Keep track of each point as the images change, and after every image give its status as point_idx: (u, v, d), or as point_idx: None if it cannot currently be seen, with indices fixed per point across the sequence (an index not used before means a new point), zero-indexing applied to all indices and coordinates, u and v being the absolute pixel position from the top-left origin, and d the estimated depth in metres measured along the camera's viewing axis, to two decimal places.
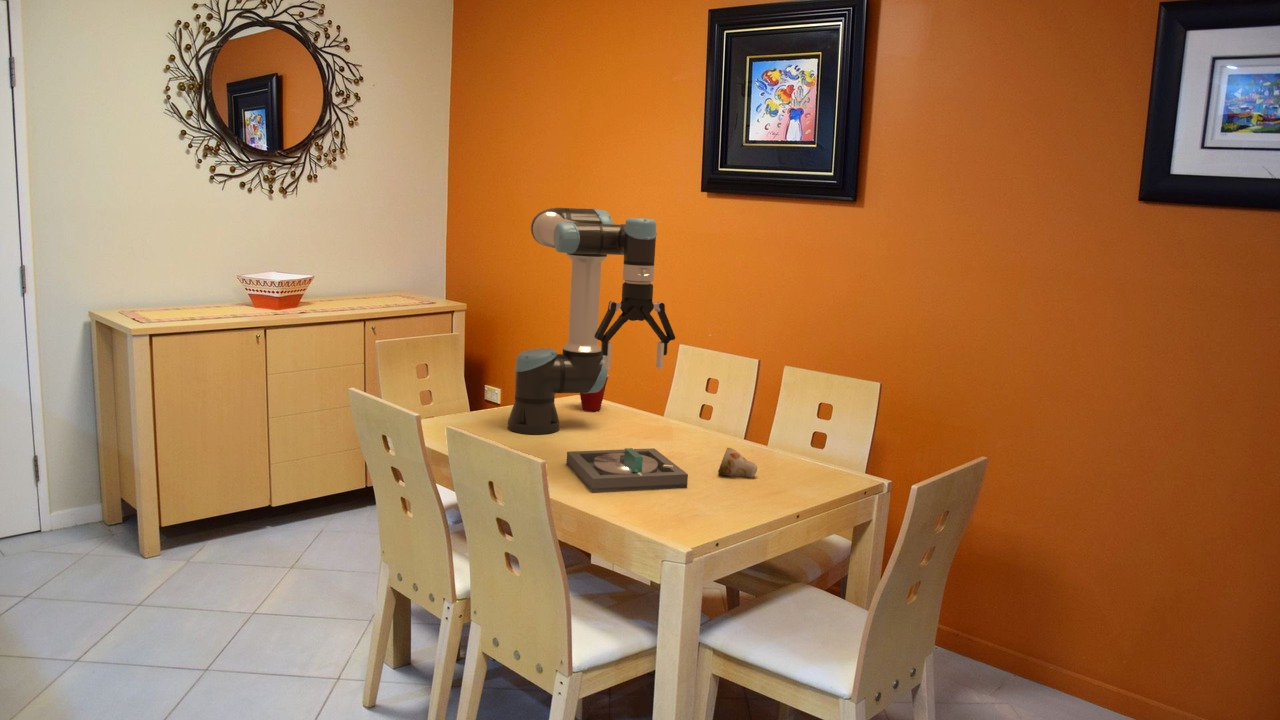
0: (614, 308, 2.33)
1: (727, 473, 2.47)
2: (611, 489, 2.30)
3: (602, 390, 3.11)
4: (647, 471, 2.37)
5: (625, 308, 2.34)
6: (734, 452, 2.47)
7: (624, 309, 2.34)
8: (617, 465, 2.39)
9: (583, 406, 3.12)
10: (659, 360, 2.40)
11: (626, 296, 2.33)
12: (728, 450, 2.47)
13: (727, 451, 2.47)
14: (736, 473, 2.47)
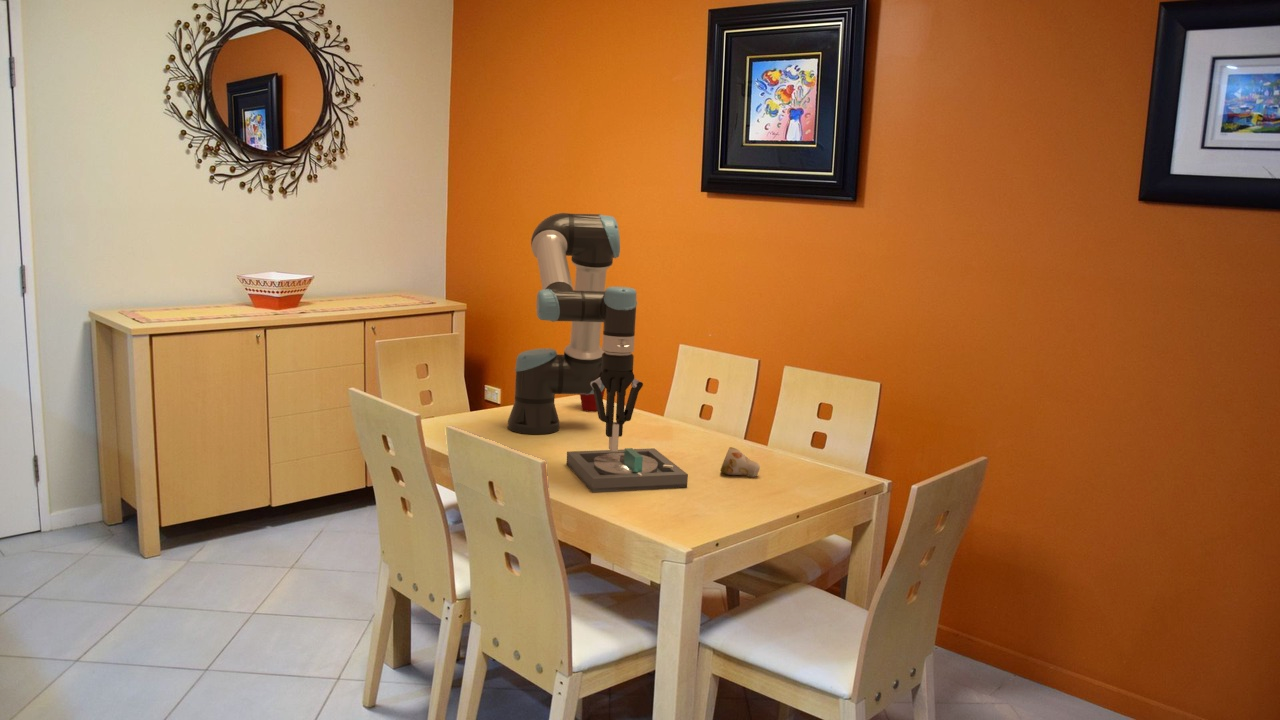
0: (597, 387, 2.27)
1: (729, 472, 2.48)
2: (611, 489, 2.30)
3: (602, 390, 3.11)
4: (647, 471, 2.37)
5: (604, 379, 2.28)
6: (736, 451, 2.48)
7: (603, 380, 2.28)
8: (617, 465, 2.39)
9: (583, 406, 3.12)
10: None
11: (605, 367, 2.27)
12: (730, 449, 2.48)
13: (729, 451, 2.47)
14: (738, 472, 2.48)
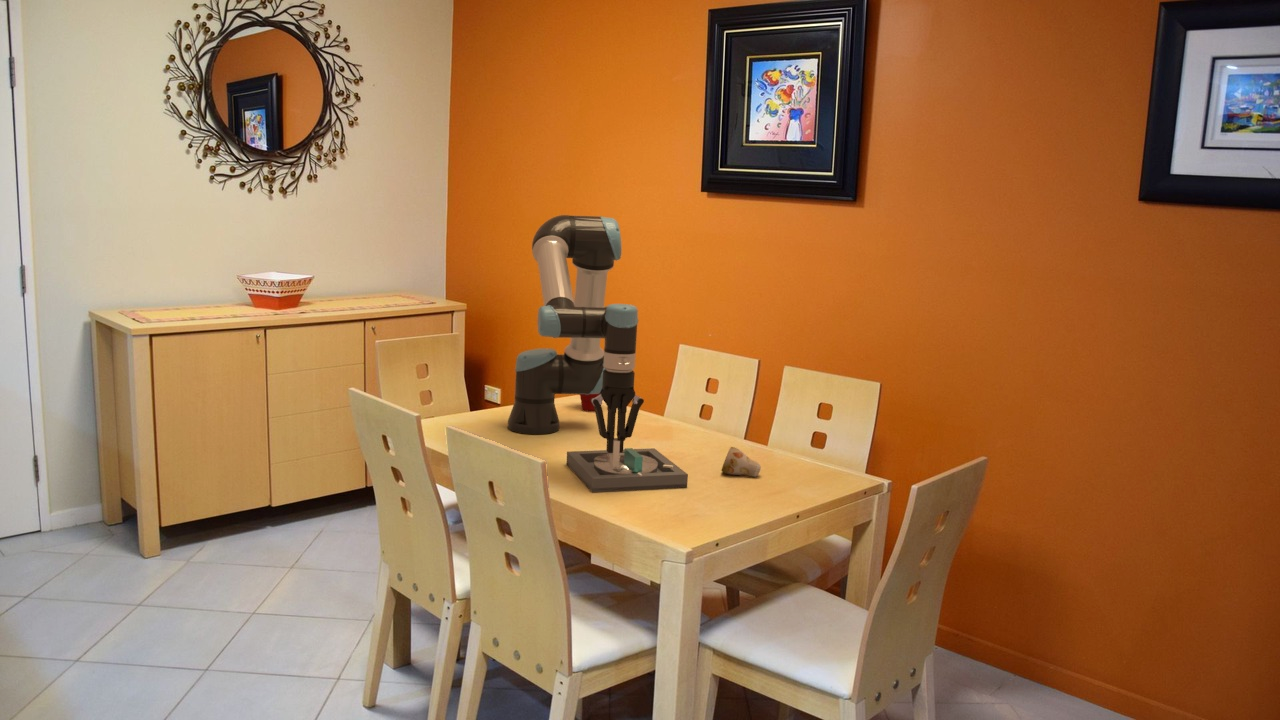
0: (598, 404, 2.28)
1: (730, 472, 2.48)
2: (611, 489, 2.30)
3: None
4: (647, 471, 2.37)
5: (605, 396, 2.29)
6: (737, 451, 2.48)
7: (604, 397, 2.29)
8: None
9: (583, 406, 3.12)
10: None
11: (606, 384, 2.28)
12: (731, 449, 2.48)
13: (730, 451, 2.48)
14: (739, 472, 2.48)
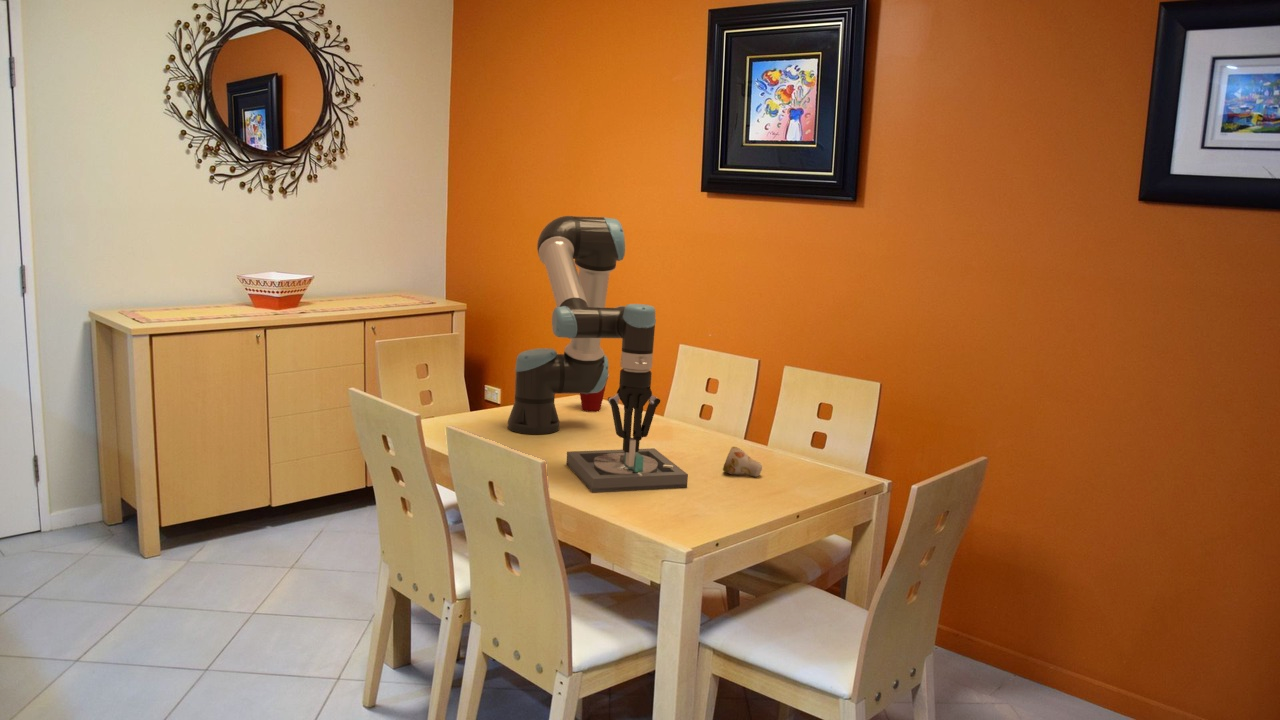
0: (615, 404, 2.30)
1: (731, 472, 2.48)
2: (611, 489, 2.30)
3: (602, 390, 3.11)
4: (647, 471, 2.37)
5: (622, 396, 2.30)
6: (739, 451, 2.48)
7: (621, 397, 2.30)
8: (617, 465, 2.39)
9: (583, 406, 3.12)
10: None
11: (624, 384, 2.29)
12: (733, 449, 2.49)
13: (731, 450, 2.48)
14: (740, 472, 2.48)
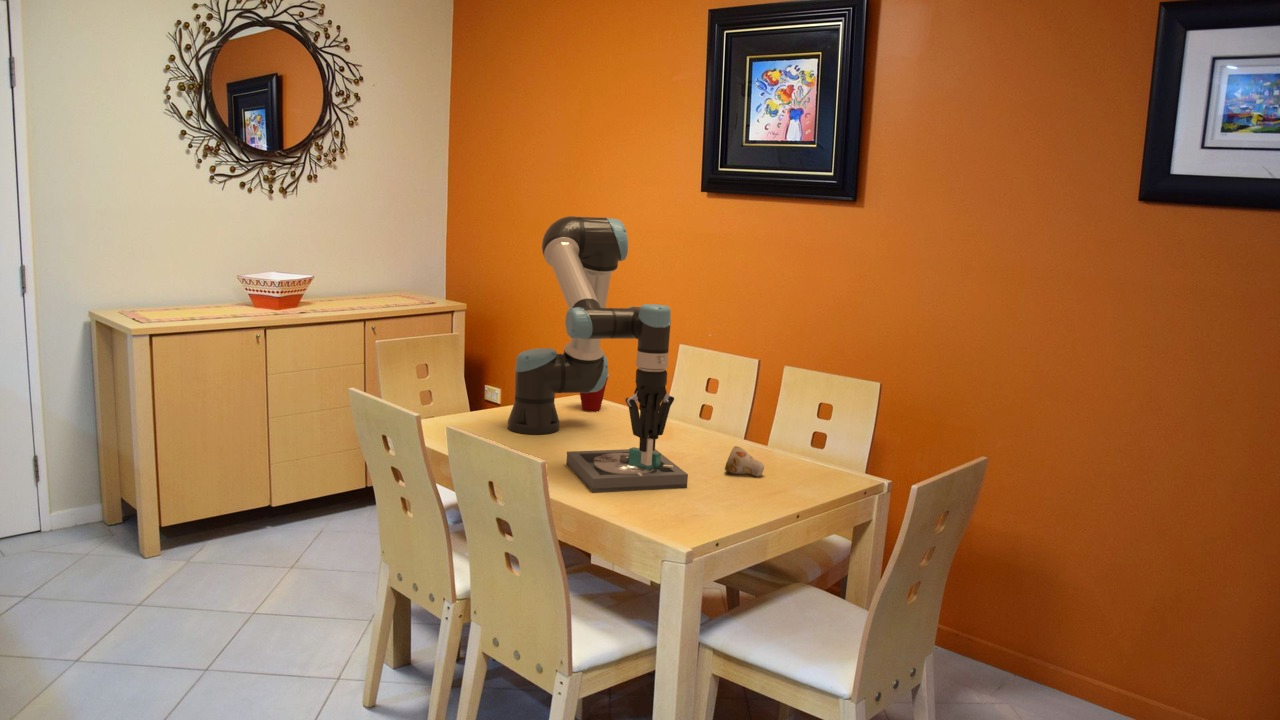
0: (635, 404, 2.31)
1: (733, 471, 2.49)
2: (611, 489, 2.30)
3: (602, 390, 3.11)
4: None
5: (641, 396, 2.31)
6: (741, 451, 2.49)
7: (640, 397, 2.31)
8: (629, 466, 2.38)
9: (583, 406, 3.12)
10: None
11: (643, 384, 2.30)
12: (735, 448, 2.49)
13: (733, 450, 2.49)
14: (742, 471, 2.49)
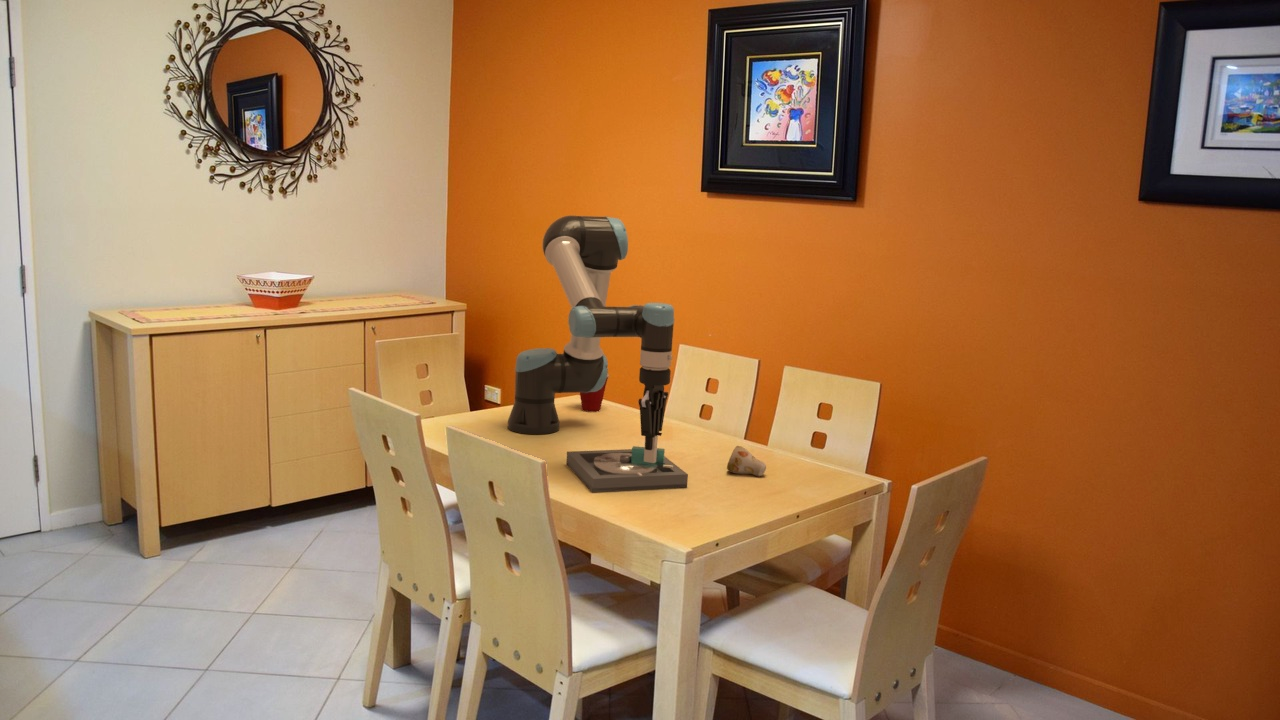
0: (649, 404, 2.31)
1: (735, 471, 2.49)
2: (611, 489, 2.30)
3: (602, 390, 3.11)
4: None
5: (652, 395, 2.32)
6: (742, 450, 2.49)
7: (651, 396, 2.32)
8: (637, 466, 2.39)
9: (583, 406, 3.12)
10: None
11: (655, 383, 2.31)
12: (737, 448, 2.50)
13: (735, 449, 2.49)
14: (744, 471, 2.49)
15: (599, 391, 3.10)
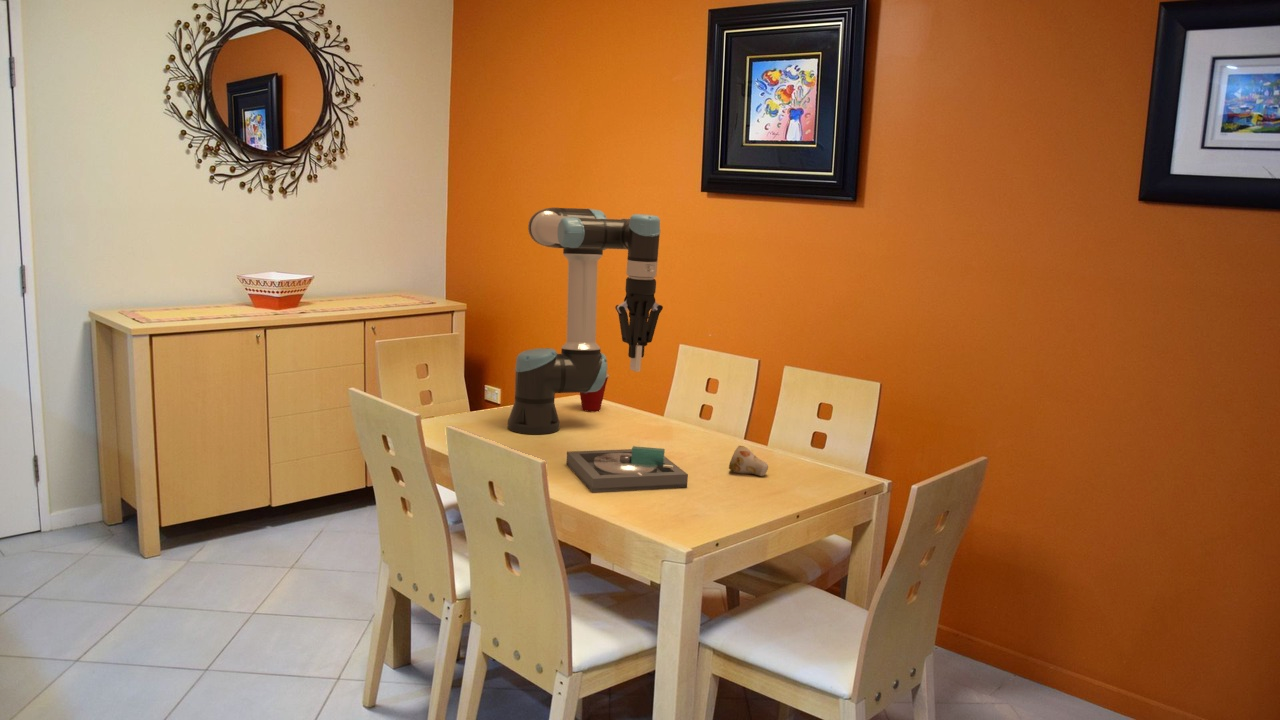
0: (624, 311, 2.39)
1: (737, 470, 2.50)
2: (611, 489, 2.30)
3: (602, 390, 3.11)
4: None
5: (630, 303, 2.39)
6: (744, 450, 2.50)
7: (629, 304, 2.39)
8: (637, 466, 2.39)
9: (583, 406, 3.12)
10: None
11: (632, 291, 2.38)
12: (739, 448, 2.50)
13: (737, 449, 2.50)
14: (746, 471, 2.49)
15: (599, 391, 3.10)
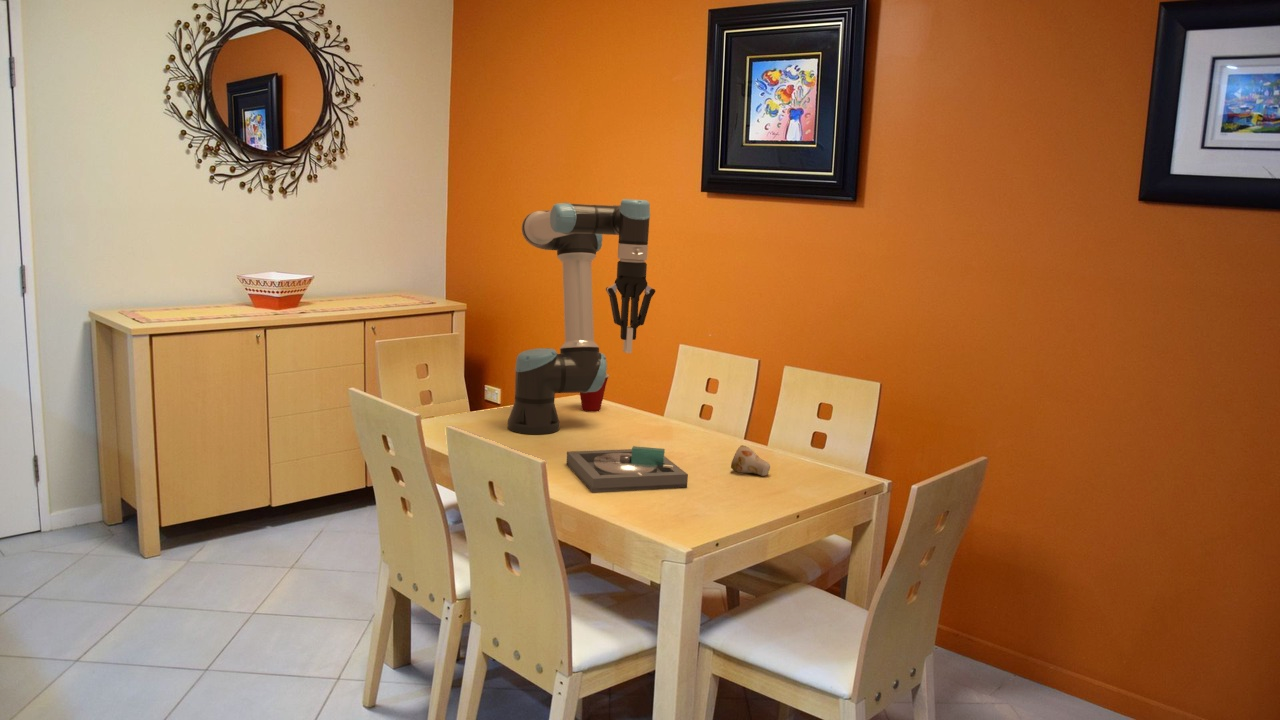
0: (613, 292, 2.45)
1: (739, 470, 2.50)
2: (611, 489, 2.30)
3: (602, 390, 3.11)
4: None
5: (620, 285, 2.46)
6: (746, 450, 2.50)
7: (619, 286, 2.46)
8: (637, 466, 2.39)
9: (583, 406, 3.12)
10: None
11: (621, 274, 2.45)
12: (741, 447, 2.50)
13: (739, 449, 2.50)
14: (747, 470, 2.50)
15: (599, 391, 3.10)
